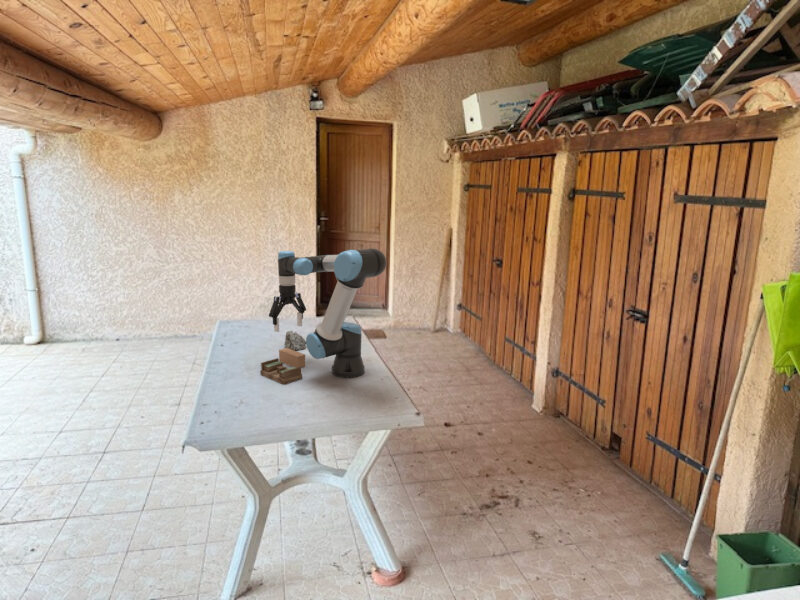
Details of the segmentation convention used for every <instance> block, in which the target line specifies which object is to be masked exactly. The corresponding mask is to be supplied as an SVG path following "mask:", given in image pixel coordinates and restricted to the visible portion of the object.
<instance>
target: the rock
mask: <svg viewBox="0 0 800 600" xmlns="http://www.w3.org/2000/svg"><path fill="white" fill-rule="evenodd" d="M284 340H285V341H284V343H283V344H284V345H283V346H285V348H288V349H291V350H294V351H299V350H301V351H302V350H304V349H306V347H307V345H306V339H305V338H304V337H303V336H302V335H301V334H298V332H297V331H295V332H294V331H293V330H290V331H286V333H285V339H284Z"/></svg>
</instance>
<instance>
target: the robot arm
mask: <svg viewBox="0 0 800 600" xmlns="http://www.w3.org/2000/svg"><path fill="white" fill-rule="evenodd" d="M295 255H296V254H295V252H294V251H292V250H283V251H282V250H281V251H279V252H278V254H277V269H278V284H279V286H278V292H279V296H277V295H275V296H273V302H272V305H271V307H270V310H269V314H268V317H269V318H271V319H272V324H273V328H274V332H277V333H279V332H280V320H279V319H280V318H279V315H280V314H281V312H282V311H283V308H284V307H285V306H286V305H287V306H288V305H292V306H293V307H294V308H295V309H296V310H297V311H298V312H297V311H296V315H297V316H296V321H297V323H296V325H297V326H298V327H303V318H304V313H305V312H306V311H307V308H306V305H305V303H304V301H303V299H302V296H301V295H302V294H301V293H300V292H297V289H296V275H299V276H308V275H310V274H315V273H323V272H325V273H328V272H333V273H334V276H335V278H336V280H337V282H336V285H335V287H334V290H333V293H332V295H331V297H330V300H329V303H328V306H327V308H326V311H325V314H324V317H323V319H322V321H321V322H319V323H318V324H317V325H316V328H315V330H314V331H313V332H310V333H308V334H307V336H306V338H305V341H306V347H307V351H308V353H309V354H310V356H311V357H312V358H314V359H317V360H320V359H325V358H329V357H333V356H334V360H333V364H332V366H331V373H332V375H334V376H336V377H338V378H339V377H340V378H347V379H348V378H357V377H360V376H362V375H364V374H365V371H366V369H365V365H364V361H363V358H362V335H363V334H362V327H361V326H360V325H359V324H358V323H354V322H347V321H346V322H345V320H346V319H347V316H348V313H349V311H350V309H351V306H352V303H353V302H354V298H355V296H356V293H357V291H358V290H360V289H361V288H363V287H364V284H365V283H366V280H367V279H369V278H376V277H378V276H380V275H382V274H383V273H384V271H385V270H386V268H387V264H388V263H387V260H388V259H387V256H386V255H385V253H384V252H383V251H381V250H379V249H377V248H362V249H348V250H345V251H342V252H340V253H339V254H324V255H316V256H304V257H300V256H299V257H298V256H295ZM295 298H296V299H295Z"/></svg>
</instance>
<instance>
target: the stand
mask: <svg viewBox="0 0 800 600" xmlns="http://www.w3.org/2000/svg"><path fill="white" fill-rule="evenodd" d="M260 364H261V365H260V367H261V368H260V369H261V370H260V371H259V372H260V376H263V377H265V378H268V379H270V380H273V381H275V382H277V383H279V384H281V385H284V386H285V385H288V384H290V383H293V382H296V381H300V380H303V373H302V367H297V368H295V367H292V366H291V367H289V368H288V367H286V366H284V363H282V362H280V361H279V357H278V358H274V359H269V360H266V361H262V362H260Z"/></svg>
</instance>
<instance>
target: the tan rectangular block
mask: <svg viewBox="0 0 800 600" xmlns="http://www.w3.org/2000/svg"><path fill="white" fill-rule="evenodd" d="M278 358H279V361H280V362H282V363H283V364H285V365H287V366H290V367H291V368H292V367H295V368H297V367H301V368H304V367H306V353H302V352H299V351H298V350H291V349H288V348H286V347H285V348H282V349H281V348H280V349H279V350H278Z"/></svg>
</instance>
